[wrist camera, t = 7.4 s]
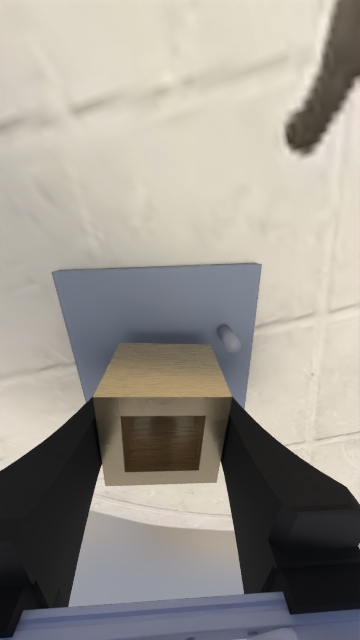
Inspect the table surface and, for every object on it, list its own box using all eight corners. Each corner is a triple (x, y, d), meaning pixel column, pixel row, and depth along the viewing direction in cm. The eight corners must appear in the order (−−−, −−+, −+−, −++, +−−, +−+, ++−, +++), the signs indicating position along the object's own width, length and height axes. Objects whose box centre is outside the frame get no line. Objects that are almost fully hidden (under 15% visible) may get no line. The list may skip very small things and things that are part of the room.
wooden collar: (125, 429, 14) (108, 505, 10) (119, 342, 12) (92, 397, 8) (200, 428, 15) (212, 500, 11) (210, 344, 12) (232, 397, 8)
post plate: (96, 418, 19) (76, 468, 15) (59, 270, 14) (11, 281, 10) (239, 409, 19) (259, 454, 15) (255, 262, 14) (292, 271, 10)
